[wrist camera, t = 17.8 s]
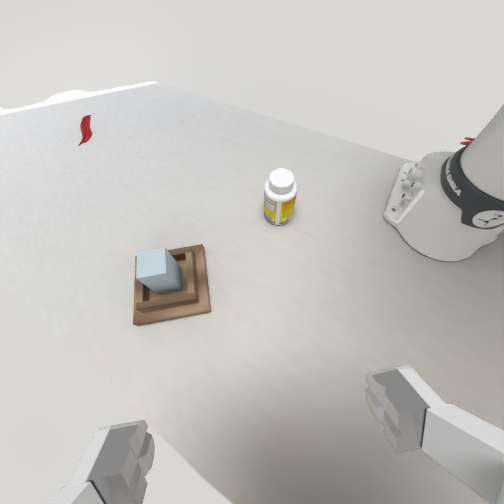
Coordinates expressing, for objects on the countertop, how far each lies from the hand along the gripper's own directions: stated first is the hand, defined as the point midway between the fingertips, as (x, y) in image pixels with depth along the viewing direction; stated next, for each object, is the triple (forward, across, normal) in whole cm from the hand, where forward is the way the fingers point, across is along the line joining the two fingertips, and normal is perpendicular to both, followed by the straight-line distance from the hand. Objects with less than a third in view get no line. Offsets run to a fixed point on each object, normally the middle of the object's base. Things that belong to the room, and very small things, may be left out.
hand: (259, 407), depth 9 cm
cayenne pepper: (+65, +33, -23) cm, 76 cm away
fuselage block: (+32, +12, +8) cm, 35 cm away
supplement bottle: (+40, -9, +2) cm, 41 cm away
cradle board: (+33, +12, +9) cm, 36 cm away
